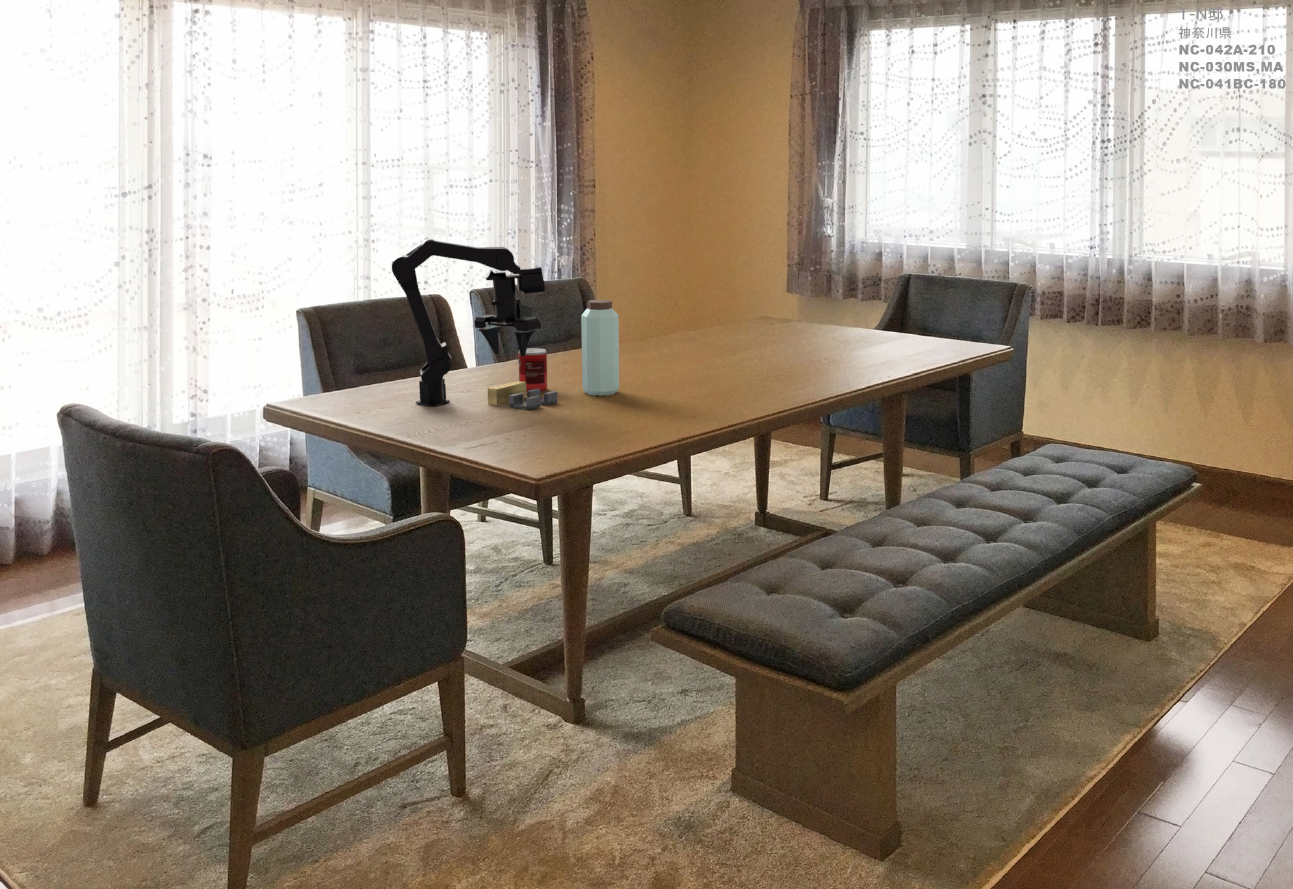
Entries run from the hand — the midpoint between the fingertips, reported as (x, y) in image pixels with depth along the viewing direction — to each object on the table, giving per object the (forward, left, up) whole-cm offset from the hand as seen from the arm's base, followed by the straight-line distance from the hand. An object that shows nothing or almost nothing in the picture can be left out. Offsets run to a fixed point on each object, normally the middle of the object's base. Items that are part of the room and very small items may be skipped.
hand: (509, 355), depth 327 cm
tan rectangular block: (-1, 0, -12) cm, 12 cm away
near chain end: (-5, -9, -12) cm, 16 cm away
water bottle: (+21, -14, -12) cm, 28 cm away
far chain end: (+2, -9, -12) cm, 15 cm away
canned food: (+14, +4, -12) cm, 19 cm away
